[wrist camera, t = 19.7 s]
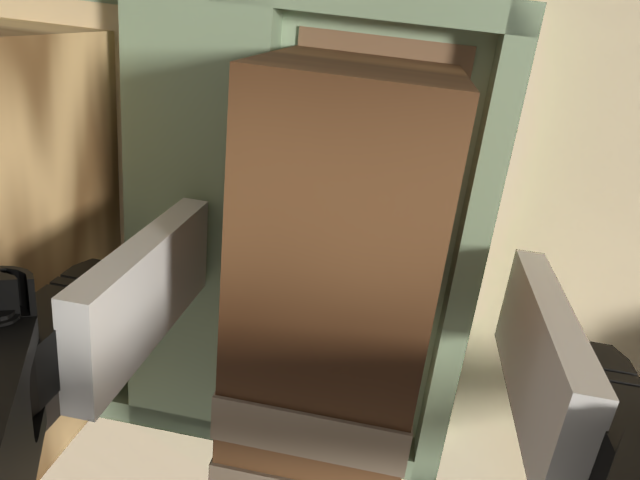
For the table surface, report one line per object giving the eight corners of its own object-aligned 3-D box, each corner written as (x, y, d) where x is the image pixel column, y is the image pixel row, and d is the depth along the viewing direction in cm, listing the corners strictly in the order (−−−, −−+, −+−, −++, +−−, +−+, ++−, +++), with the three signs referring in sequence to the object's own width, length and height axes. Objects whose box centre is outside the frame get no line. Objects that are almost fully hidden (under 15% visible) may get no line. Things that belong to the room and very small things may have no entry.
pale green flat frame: (-52, -59, 18) (-114, -68, 16) (530, 3, 16) (546, 2, 14) (0, 356, 23) (-40, 388, 21) (433, 440, 21) (434, 485, 19)
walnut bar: (294, 45, 16) (225, 61, 10) (462, 65, 16) (483, 94, 10) (265, 398, 21) (205, 542, 15) (394, 423, 20) (382, 582, 14)
